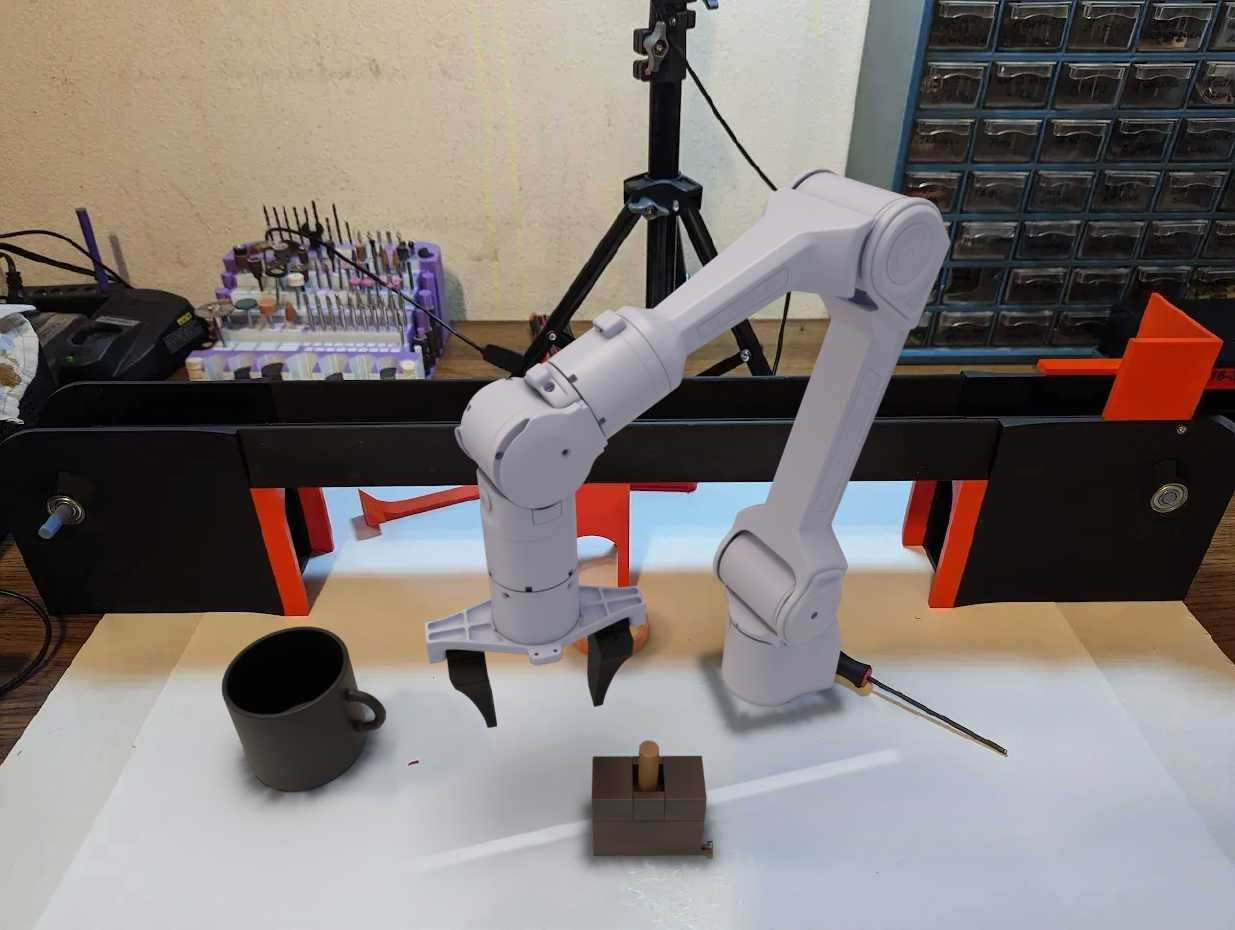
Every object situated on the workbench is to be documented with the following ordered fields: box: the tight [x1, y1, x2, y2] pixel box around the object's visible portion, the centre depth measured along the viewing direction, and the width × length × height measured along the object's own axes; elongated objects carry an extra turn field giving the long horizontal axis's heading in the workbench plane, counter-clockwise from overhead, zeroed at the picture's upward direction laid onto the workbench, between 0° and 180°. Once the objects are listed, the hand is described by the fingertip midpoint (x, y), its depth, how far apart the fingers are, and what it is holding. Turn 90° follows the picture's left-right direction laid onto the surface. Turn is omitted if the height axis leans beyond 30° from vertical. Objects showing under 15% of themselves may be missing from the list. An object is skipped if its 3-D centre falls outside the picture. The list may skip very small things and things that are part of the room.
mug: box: [221, 625, 387, 791], centre depth 65 cm, size 9×12×9 cm
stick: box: [638, 739, 660, 792], centre depth 57 cm, size 1×1×6 cm
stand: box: [591, 755, 708, 856], centre depth 59 cm, size 8×4×7 cm, turn 90°
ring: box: [573, 613, 649, 656], centre depth 77 cm, size 7×7×3 cm
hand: (543, 705), depth 58 cm, fingers open, 7 cm apart
